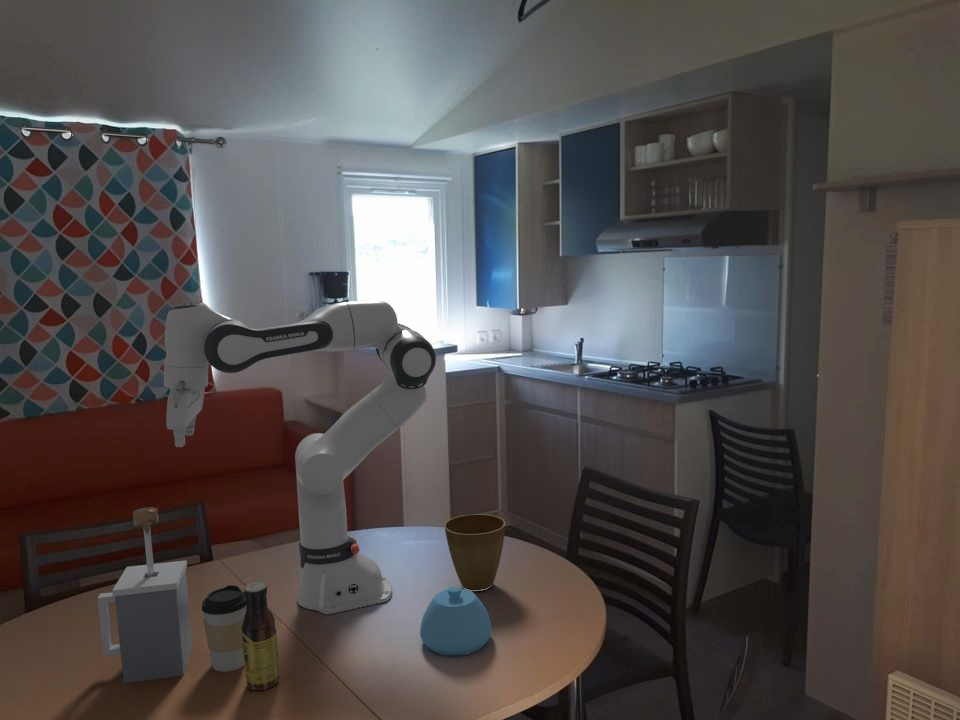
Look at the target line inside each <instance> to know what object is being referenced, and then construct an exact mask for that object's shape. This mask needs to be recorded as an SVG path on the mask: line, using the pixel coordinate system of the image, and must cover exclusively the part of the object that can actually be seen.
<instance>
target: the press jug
mask: <svg viewBox="0 0 960 720" xmlns="http://www.w3.org/2000/svg"><path fill="white" fill-rule="evenodd" d="M153 564H154V575H155V577H149V578H148V571H147V564H143V565H142V564H141V565H132V566H126V568H125V569H124V571H123V573H122V574H121V576H120V577H119V579H118V580H117V582H116V584H115V586H114V587H113V588H112V591H111V592H103V593H102V592H101V593H99V595H98V597H97V607H98V616H99V617H98V618H99V626H100V636H101V637H100V638H101V643H102V644H101V645H102V656H103V657H109V656H117V655H118V656H119V655H120V659H121V661H120V663H121V671H122V680H123V681H122V682H123V684H124V685H125V684H132V683H138V682H146V681H152V680H153V681H154V680H161V679H165V678H175V677H181V676H184V675H185V673H186V669H187V667H188V662H189V660H190V657H191V654H192V651H193V641H192V626H191V617H190V608H189V607H190V605H189V593H188V584H187V583H188V581H187V571H186V570H187V567H188V560H177V561H170V562H169V561H168V562H159V563H153ZM109 603H115V607H116V608H115V610H116V622H117V629H118V630H117V631H118V641H119V643H118V644H117V643H116V644H113V641H112V632H111V631H112V630H111V621H110V620H111V619H110V612H109Z"/></svg>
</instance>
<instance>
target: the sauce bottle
mask: <svg viewBox="0 0 960 720" xmlns="http://www.w3.org/2000/svg"><path fill="white" fill-rule="evenodd" d="M243 592H245V597H246V605H247V607H246V614H245V617H244V620H243V624H242V627H241V631H242V643H243V655H244V666H243V667H244V675H245V676H244V677H245V681H246V685H247V688H249V690H252V691H264V690H268V689H271V688H273V687H275V685H277V683H278V682H279V680H280V674H279V673H280V667H279V654H278V642H277V641H278V639H277V628H276V620H275V615H274V614H273V613H272V611H271V610H270V609H269V608H268V602H267V600H268V599H267V594H268V593H267V592H268V587H267V584H266V583H264V582H259V581H258V582H252V583H250V584H248V585H246V586H245V587H244V591H243Z"/></svg>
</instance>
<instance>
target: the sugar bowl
mask: <svg viewBox="0 0 960 720" xmlns="http://www.w3.org/2000/svg"><path fill="white" fill-rule="evenodd" d="M492 633H493V632H492V622H491V619H490V616H489V613H488V611H487V609H486V607H485V606H484V604H483V603H482V601H481V600H480V598H479V597H478V596H477V595H476V594H475V592H471V591H469V590H466V589H464V588H462V587H460V586H450V587H448V588H447V589H444V590H441V591H439V592H438V593H436V594H435V595H434V596H433V598H431V600H430V602H429V604H428V606H427V607H426V609H425V611H424V612H423V616H422V618H421V623H420V630H419V634H420V639H421V640H422V642H423V643H424V645H425V646H426V647H427V648H428V649H430V651H432V652H434V653H436V652H437V653H436V654H438V653H440V654H439V655H442V654H444V655H443V656H447V655H461V656H464V655H463V654H466V655H469V654H468V653H470V654H472V653H471V652H473V653H475V652H477V651H479V650H480V649H482V648H483V647H484V646H485V644H487V642H488V641H489V640H490V638H491V636H492ZM478 649H479V650H478ZM476 650H477V651H476ZM474 651H475V652H474Z"/></svg>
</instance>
